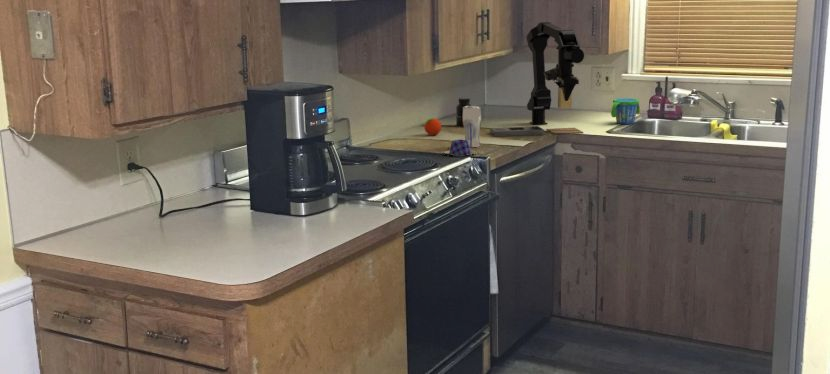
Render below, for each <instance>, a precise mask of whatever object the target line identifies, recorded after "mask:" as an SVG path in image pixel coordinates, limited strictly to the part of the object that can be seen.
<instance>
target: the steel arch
mask: <svg viewBox="0 0 830 374" xmlns="http://www.w3.org/2000/svg"><path fill="white" fill-rule="evenodd" d="M489 133H490V134H491V135H492V136H493V137H495V138H497V137H499V138H500V137H514V136H515V137H517V135H522V136H542V135H543V136H544V135H545V129H543V128H542V127H541V126H539V125H532V126H531V125H529V126H527V125H526V126H508V127H507V126H504V127H503V126H502V127H490V128H489Z"/></svg>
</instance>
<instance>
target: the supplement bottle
mask: <svg viewBox="0 0 830 374" xmlns="http://www.w3.org/2000/svg"><path fill="white" fill-rule="evenodd" d="M470 103H471V98H469V97H458V104H457V105H456V110H455V111H456V114H455V115H456V116H455V118H456V119H455V120H456V121H455V122H456V126H457V127H458V126H463V107H465V106H472V104H470Z"/></svg>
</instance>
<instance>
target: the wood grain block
mask: <svg viewBox="0 0 830 374" xmlns="http://www.w3.org/2000/svg"><path fill="white" fill-rule="evenodd" d="M572 97H573V92H572V93H571V95H570V97H569V99H568V101H565V98H564V90H563V87H559V86H558V87H557V108H559V109H572V106H573V105H572V103H573V98H572Z"/></svg>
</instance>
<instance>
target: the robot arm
mask: <svg viewBox="0 0 830 374" xmlns="http://www.w3.org/2000/svg"><path fill="white" fill-rule="evenodd" d="M551 37H552V38H553V39H554V42H555V43H556V44H557V45H558V46H556V48H555V49H556V50H558V51H557V55H558V56H557V58H558V59H557V63H556V64H555V67H554V68H552V69H548V70H545V69H546V68H545V50H546V49H547V46H548V40H549V39H550V38H551ZM526 42H527V46H528V48H529V50H530V52H531V53H532V68H533V89H532V90H531V92H530V98H529V100H528V102H527V104H526V107H527V110H528V111H531V121H529V124H531V125H532V126H539V125H540V126H542V125H548V122H546V110H549V111H550V109H551V105H552V104H551V103H552V95H551V94H552V93H551V92H552V91H551V89H549V88H548V87H547V82H548V81H553V82H554V84H556V85H557V86H558V87H563V90H564V98H565V101H568V99H569V97H570V95H571V93H572V94H573V91H574V89H575V86H576V85H579V83H580V79H579V78H578V76H575V75H574V74H573V68H574V67H575V64H580V63H581V62H583V61H584V59H585V54H584V51H583V49H581V48H580V47H581V46H580V41H579V39H578V36H577V34H576V32H575V30H573V29H569V28H561V27H559V26H557V25H555V24H553V23H552V22H549V21H545V22H544V21H542V22H539V23H537V25H536V26H534V27H533V28H531V29H530V30H529V32H528V33H527V35H526ZM546 81H547V82H546Z"/></svg>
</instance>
